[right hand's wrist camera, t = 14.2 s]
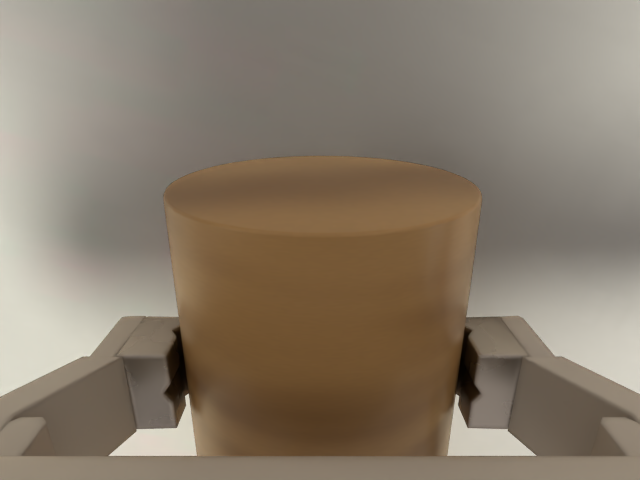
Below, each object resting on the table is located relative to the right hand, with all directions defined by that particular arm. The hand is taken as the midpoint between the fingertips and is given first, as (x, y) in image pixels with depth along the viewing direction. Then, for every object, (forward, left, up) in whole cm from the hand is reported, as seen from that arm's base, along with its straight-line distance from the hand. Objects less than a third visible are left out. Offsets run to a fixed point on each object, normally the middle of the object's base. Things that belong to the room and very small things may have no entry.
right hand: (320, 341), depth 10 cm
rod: (+7, +2, -3) cm, 8 cm away
